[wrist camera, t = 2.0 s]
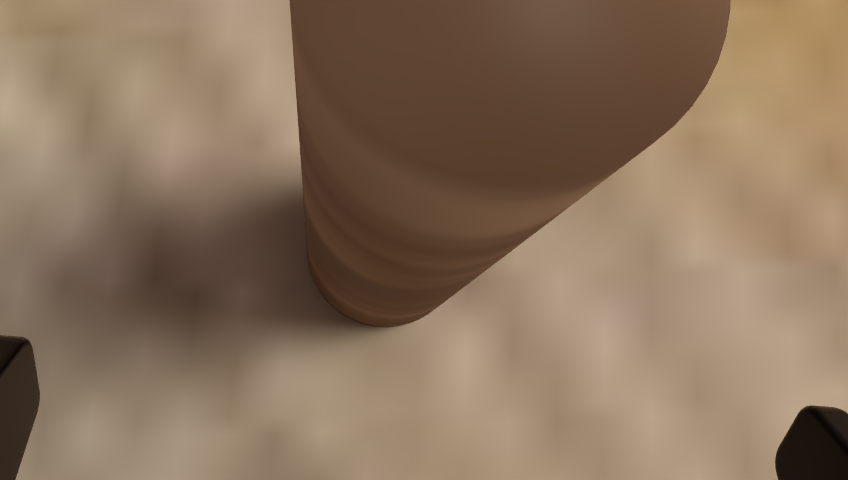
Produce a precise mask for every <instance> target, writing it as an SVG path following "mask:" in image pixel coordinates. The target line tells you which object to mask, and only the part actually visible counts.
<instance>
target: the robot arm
mask: <svg viewBox="0 0 848 480" xmlns="http://www.w3.org/2000/svg"><path fill="white" fill-rule="evenodd" d="M39 400H40V391H39V384H38V378H37V372H36V366H35V360H34V354H33V348H32V345H31V343H30V341H29V340H28V339H26V338H23V337H15V336H4V335H0V480H15V479H16V476H17V473H18V470H19V467H20V464H21V461H22V458H23V455H24V452H25V449H26V445H27V442H28V439H29V436H30V433H31V430H32V427H33V424H34V421H35V418H36V415H37V411H38V407H39ZM775 466H776V473H777V477H778V480H848V414H847V413H846V412H845V411H843V410H841V409H838V408H834V407H823V406H806V407H805V408H803V409H802V410H800V412H799V413H798V415H797V417H796V418H795V420H794V422H793V423H792V425H791V427H790V429H789V430H788V432H787V434H786V436H785V437H784V439H783V441H782V442H781V444H780V446H779V448H778V450H777V453H776V459H775Z"/></svg>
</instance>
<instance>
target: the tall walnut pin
mask: <svg viewBox="0 0 848 480" xmlns="http://www.w3.org/2000/svg"><path fill="white" fill-rule="evenodd" d="M290 12H291V26H292V40H293V55H294V69H295V83H296V98H297V112H298V126H299V141H300V155H301V169H302V184H303V198H304V212H305V227H306V241H307V255H308V262H309V267H310V271H311V274H312V277H313V279H314V282H315V284H316V286H317V287H318V289H319V291H320V292H321V294H322V295H323V296H324V298H325V299H326V300H327V301H328V302H329V303H330V304H331V305H332V306H333V307H334V308H335V309H336V310H338V311H339V312H341V313H342V314H343V315H345V316H347V317H349V318H351V319H353V320H355V321H358V322H360V323H363V324H367V325H371V326H380V327H392V326H399V325H404V324H407V323H411V322H413V321H416V320H418V319H420V318H422V317H424V316H425V315H427V314H429V313H430V312H432V311H433V310H434V309H436V308H437V307H438V306H440V305H441V304H442V303H443V302H445V301H446V300H447V299H449V298H450V297H451V296H453V295H454V294H455V293H457V292H458V291H459V290H461V289H462V288H463V287H464V286H466V285H467V284H468V283H470V282H471V281H472V280H474V279H475V278H476V277H478V276H479V275H480V274H482V273H483V272H484V271H486V270H487V269H488V268H489V267H491V266H492V265H493V264H495V263H496V262H497V261H499V260H500V259H501V258H503V257H504V256H505V255H507V254H508V253H509V252H511V251H512V250H513V249H514V248H516V247H517V246H518V245H520V244H521V243H522V242H524V241H525V240H526V239H528V238H529V237H530V236H532V235H533V234H534V233H536V232H537V231H538V230H539V229H541V228H542V227H543V226H545V225H546V224H547V223H549V222H550V221H551V220H553V219H554V218H555V217H557V216H558V215H559V214H561V213H562V212H563V211H564V210H566V209H567V208H568V207H570V206H571V205H572V204H574V203H575V202H576V201H578V200H579V199H580V198H582V197H583V196H584V195H585V194H587V193H588V192H589V191H591V190H592V189H593V188H595V187H596V186H597V185H599V184H600V183H601V182H603V181H604V180H605V179H607V178H608V177H609V176H610V175H612V174H613V173H614V172H616V171H617V170H618V169H620V168H621V167H622V166H624V165H625V164H626V163H628V162H629V161H630V160H632V159H633V158H634V157H635V156H637V155H638V154H639V153H641V152H642V151H643V150H645V149H646V148H647V147H649V146H650V145H651V144H653V143H654V142H655V141H656V140H657V139H659V138H660V137H661V136H662V135H664V134H665V133H666V132H667V131H669V130H670V129H671V128H672V127H673V126H674V125H675V124H676V123H677V122H678V121H679V120H680V119H681V118H682V117H683V116H684V115H685V113H686V112H687V111H688V110H689V109H690V108H691V107H692V106H693V104H694V103H695V101H696V100H697V98H698V97H699V95H700V94H701V92H702V91H703V89H704V88H705V86H706V85H707V83H708V81H709V79H710V77H711V75H712V73H713V70H714V68H715V66H716V64H717V62H718V60H719V56H720V53H721V50H722V47H723V44H724V40H725V37H726V32H727V26H728V20H729V14H730V0H290Z"/></svg>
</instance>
